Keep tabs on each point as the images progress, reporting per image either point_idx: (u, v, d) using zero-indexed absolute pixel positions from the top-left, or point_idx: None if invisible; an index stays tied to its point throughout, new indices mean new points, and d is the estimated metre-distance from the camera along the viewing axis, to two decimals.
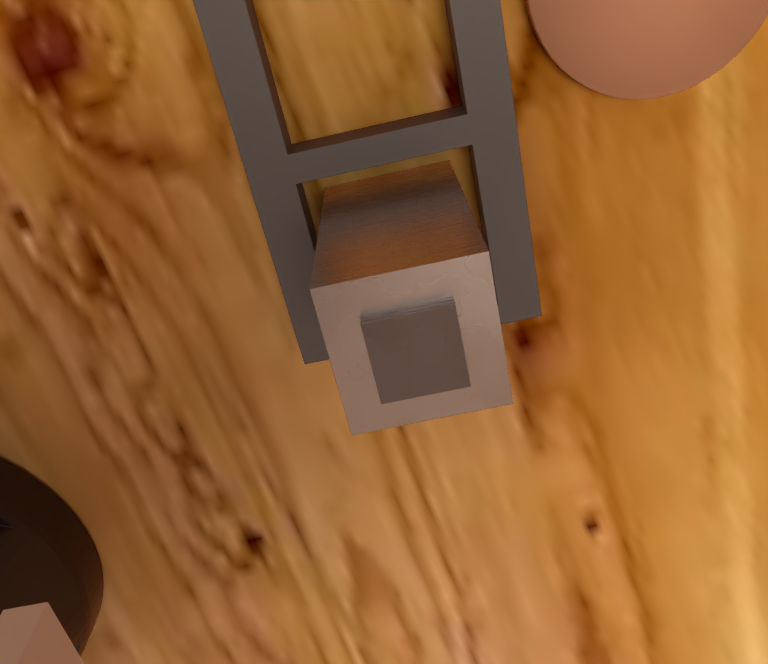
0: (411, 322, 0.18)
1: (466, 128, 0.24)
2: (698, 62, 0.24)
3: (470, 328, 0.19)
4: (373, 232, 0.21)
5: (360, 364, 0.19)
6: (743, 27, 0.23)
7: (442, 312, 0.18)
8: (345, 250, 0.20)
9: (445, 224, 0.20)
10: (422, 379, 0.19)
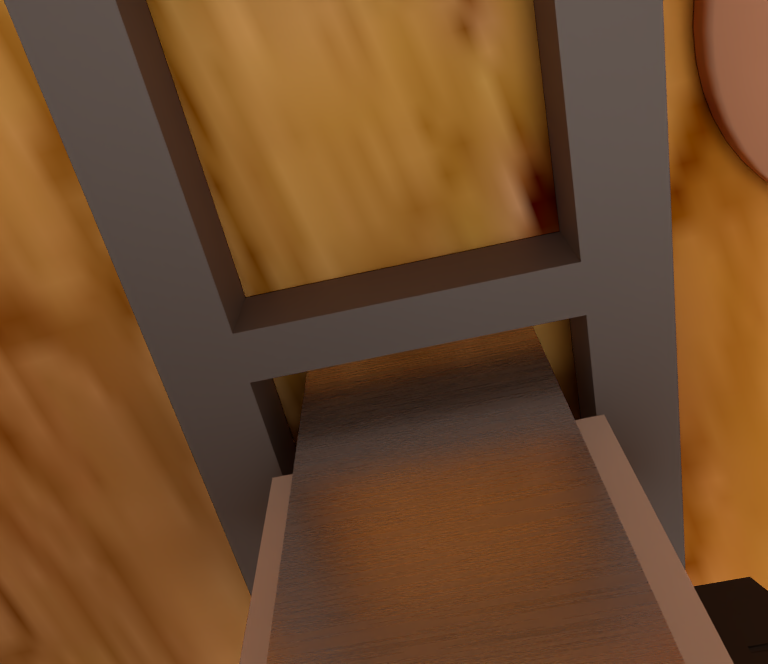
0: None
1: (576, 287, 0.12)
2: None
3: None
4: (402, 565, 0.09)
5: None
6: None
7: None
8: (341, 643, 0.09)
9: (573, 579, 0.09)
10: None
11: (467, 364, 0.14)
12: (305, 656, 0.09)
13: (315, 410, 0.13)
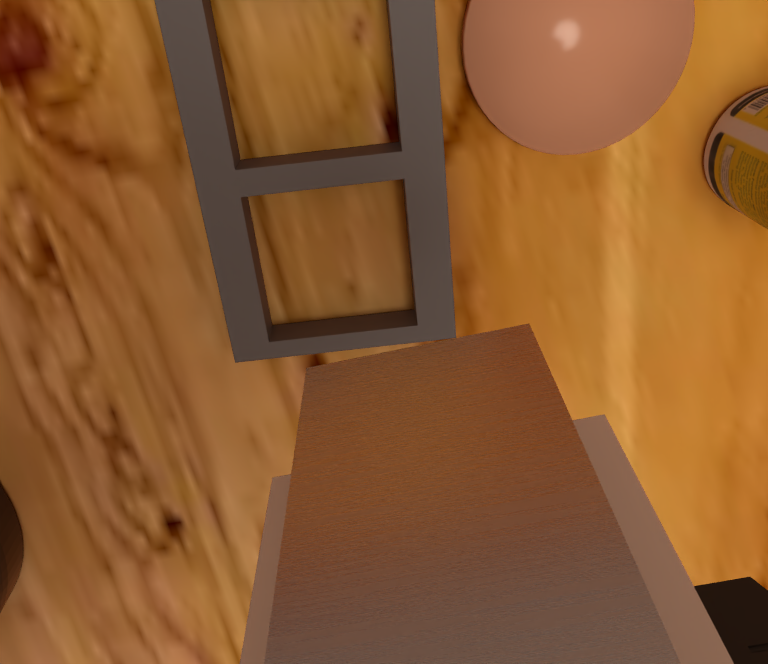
0: None
1: (400, 163, 0.26)
2: (609, 127, 0.27)
3: None
4: (399, 567, 0.09)
5: None
6: (649, 102, 0.27)
7: None
8: (337, 644, 0.09)
9: (569, 581, 0.09)
10: None
11: (466, 365, 0.14)
12: (302, 657, 0.09)
13: (314, 411, 0.13)
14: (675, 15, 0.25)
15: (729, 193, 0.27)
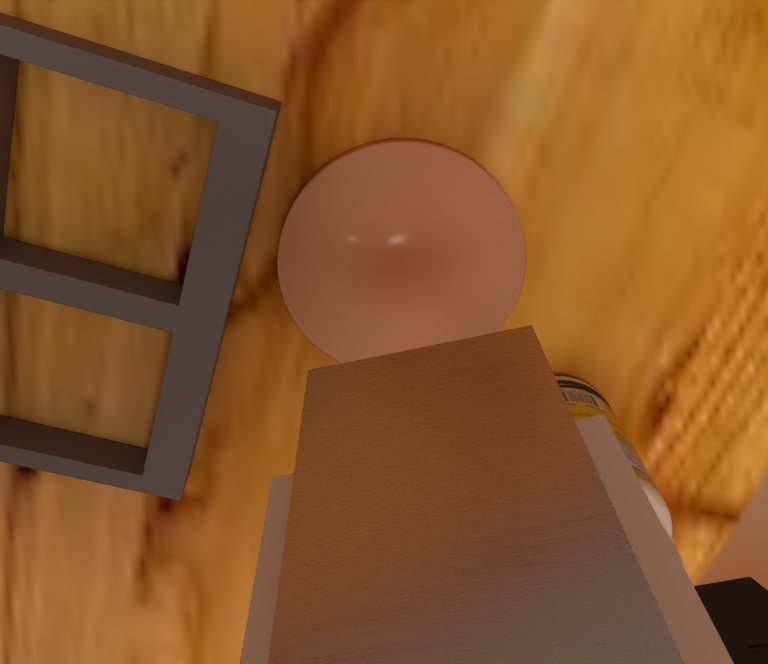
0: None
1: (172, 316, 0.23)
2: None
3: None
4: (402, 570, 0.09)
5: None
6: None
7: None
8: (341, 649, 0.09)
9: (574, 585, 0.09)
10: None
11: (468, 367, 0.13)
12: (305, 662, 0.08)
13: (316, 413, 0.13)
14: (501, 284, 0.24)
15: None
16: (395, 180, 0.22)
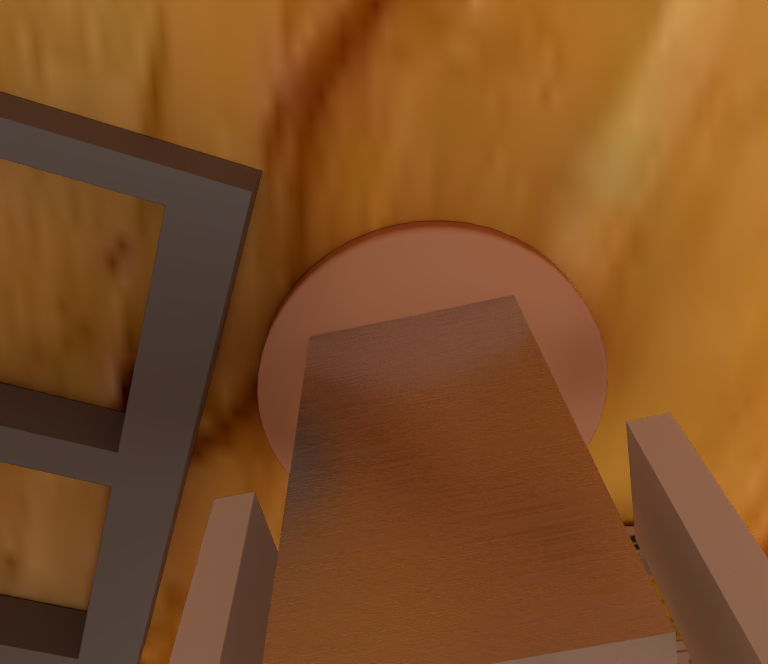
0: None
1: (110, 466, 0.17)
2: None
3: None
4: (394, 488, 0.11)
5: None
6: None
7: None
8: (340, 548, 0.10)
9: (544, 494, 0.10)
10: None
11: (455, 330, 0.15)
12: (310, 559, 0.10)
13: (317, 371, 0.14)
14: None
15: None
16: (425, 282, 0.16)
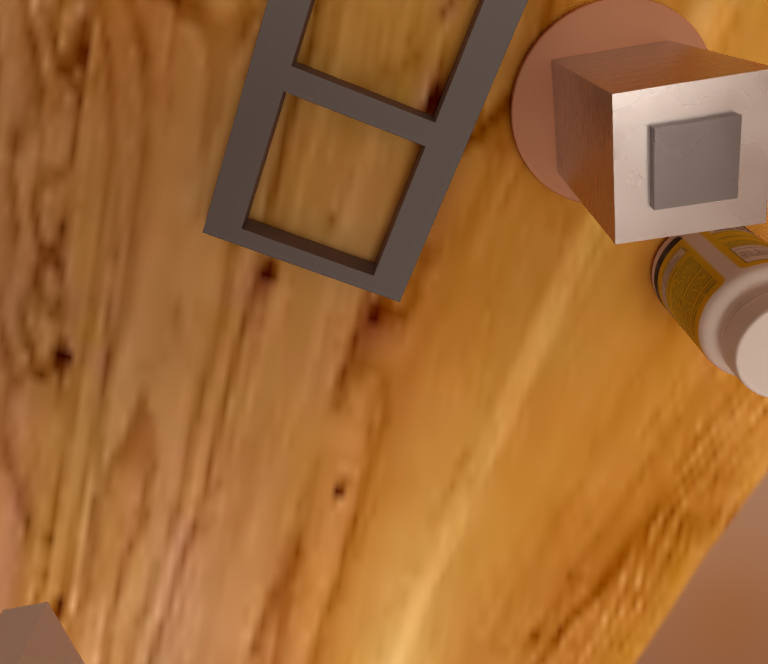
0: (699, 129, 0.21)
1: (428, 132, 0.29)
2: None
3: (743, 144, 0.21)
4: (638, 70, 0.23)
5: (639, 173, 0.22)
6: None
7: (728, 122, 0.21)
8: (622, 78, 0.23)
9: (711, 62, 0.23)
10: (696, 187, 0.21)
11: (640, 49, 0.28)
12: (610, 80, 0.23)
13: (566, 63, 0.27)
14: None
15: (665, 285, 0.32)
16: (620, 29, 0.28)
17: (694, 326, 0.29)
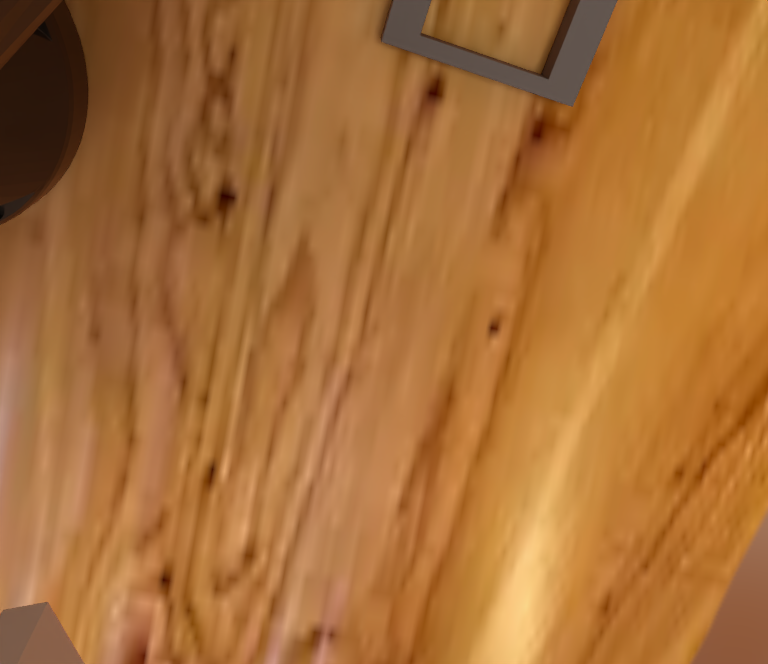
0: None
1: None
2: None
3: None
4: None
5: None
6: None
7: None
8: None
9: None
10: None
11: None
12: None
13: None
14: None
15: None
16: None
17: None
